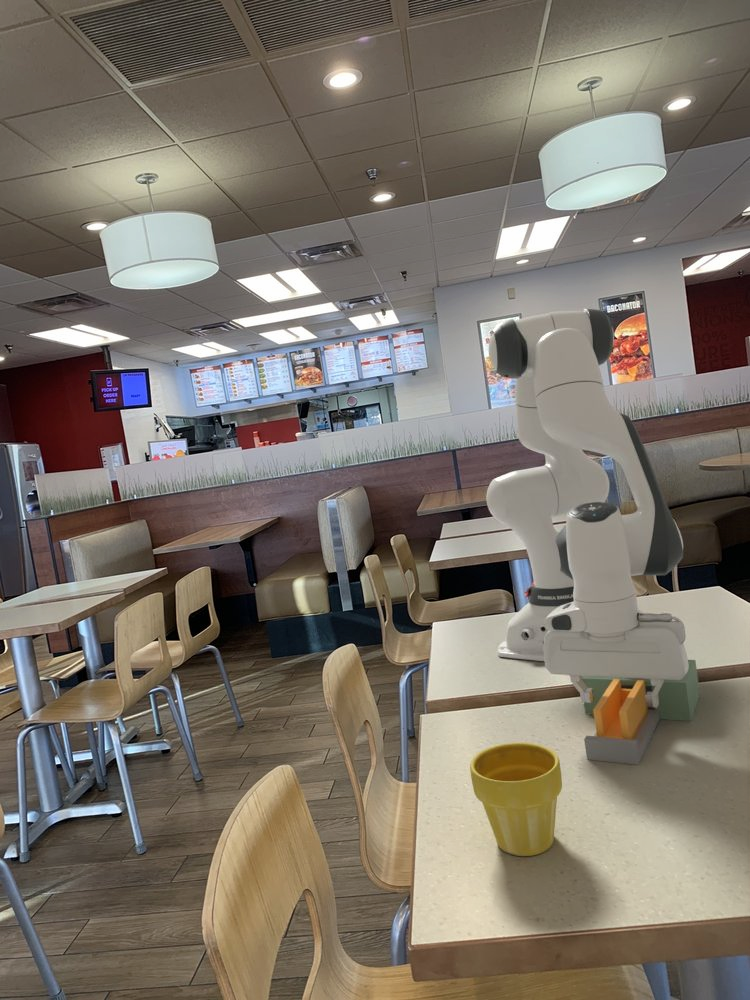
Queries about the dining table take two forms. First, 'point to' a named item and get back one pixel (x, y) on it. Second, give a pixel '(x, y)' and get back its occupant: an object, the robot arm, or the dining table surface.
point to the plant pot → (519, 794)
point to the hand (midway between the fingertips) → (619, 703)
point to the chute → (621, 711)
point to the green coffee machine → (673, 705)
